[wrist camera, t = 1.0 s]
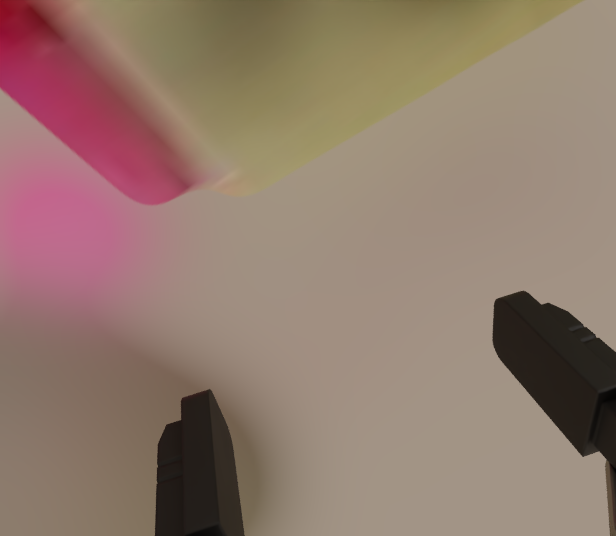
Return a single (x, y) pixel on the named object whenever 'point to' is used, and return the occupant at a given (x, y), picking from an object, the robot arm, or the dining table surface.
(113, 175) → the dining table surface
